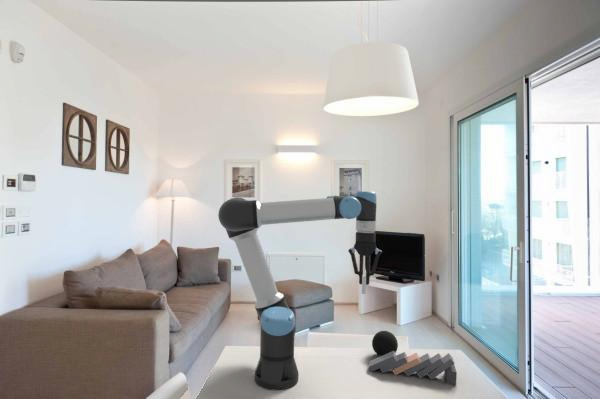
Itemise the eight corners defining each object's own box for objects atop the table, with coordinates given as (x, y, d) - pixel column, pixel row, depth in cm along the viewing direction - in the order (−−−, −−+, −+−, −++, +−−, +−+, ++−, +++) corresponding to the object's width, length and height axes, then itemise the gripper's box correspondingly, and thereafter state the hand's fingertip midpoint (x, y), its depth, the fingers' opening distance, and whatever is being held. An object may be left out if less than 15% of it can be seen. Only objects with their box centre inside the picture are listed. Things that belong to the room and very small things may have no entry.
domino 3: (392, 370, 141) (417, 358, 139) (392, 364, 146) (416, 352, 144) (395, 375, 141) (420, 363, 139) (395, 369, 146) (419, 357, 144)
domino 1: (368, 366, 143) (393, 356, 141) (369, 361, 148) (393, 350, 146) (371, 371, 143) (396, 361, 141) (372, 366, 148) (396, 355, 146)
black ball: (400, 354, 159) (401, 330, 159) (393, 364, 150) (393, 338, 150) (376, 349, 164) (377, 325, 164) (368, 357, 155) (368, 332, 155)
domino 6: (427, 375, 138) (450, 358, 136) (426, 369, 143) (448, 353, 141) (431, 379, 138) (454, 363, 136) (430, 373, 143) (452, 357, 141)
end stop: (446, 384, 135) (447, 371, 135) (444, 373, 143) (444, 361, 143) (456, 385, 135) (456, 372, 135) (453, 374, 142) (453, 362, 142)
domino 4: (404, 371, 140) (428, 358, 138) (403, 365, 145) (427, 353, 143) (407, 376, 140) (432, 363, 138) (406, 370, 145) (430, 357, 143)
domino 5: (416, 373, 139) (440, 358, 137) (415, 367, 144) (438, 352, 142) (420, 378, 139) (443, 363, 137) (419, 372, 144) (442, 357, 142)
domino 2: (379, 368, 142) (404, 357, 140) (380, 362, 147) (404, 351, 145) (382, 373, 142) (407, 362, 140) (383, 367, 147) (407, 356, 145)
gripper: (347, 231, 149) (345, 293, 150) (382, 233, 146) (380, 296, 147) (349, 229, 157) (348, 289, 157) (383, 231, 153) (381, 291, 154)
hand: (364, 292), depth 152 cm, fingers closed
